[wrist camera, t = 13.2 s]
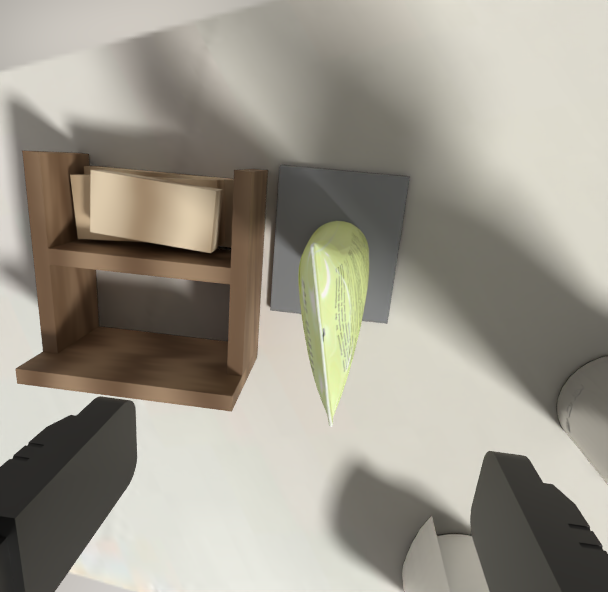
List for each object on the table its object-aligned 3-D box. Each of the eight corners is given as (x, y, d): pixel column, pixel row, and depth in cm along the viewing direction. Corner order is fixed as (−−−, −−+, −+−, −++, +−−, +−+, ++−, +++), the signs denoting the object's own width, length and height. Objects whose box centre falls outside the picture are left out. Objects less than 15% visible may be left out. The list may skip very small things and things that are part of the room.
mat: (408, 176, 34) (409, 176, 33) (386, 321, 37) (387, 323, 37) (280, 164, 34) (279, 164, 34) (271, 308, 38) (270, 310, 37)
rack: (267, 170, 34) (241, 172, 26) (257, 357, 39) (231, 411, 31) (74, 152, 36) (-13, 149, 27) (87, 336, 40) (17, 383, 32)
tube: (289, 246, 36) (224, 338, 17) (331, 200, 34) (311, 244, 16) (339, 292, 36) (330, 429, 18) (383, 249, 35) (422, 347, 16)
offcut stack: (245, 179, 35) (227, 182, 30) (242, 246, 36) (224, 259, 31) (96, 166, 36) (53, 166, 31) (99, 231, 37) (60, 242, 32)
